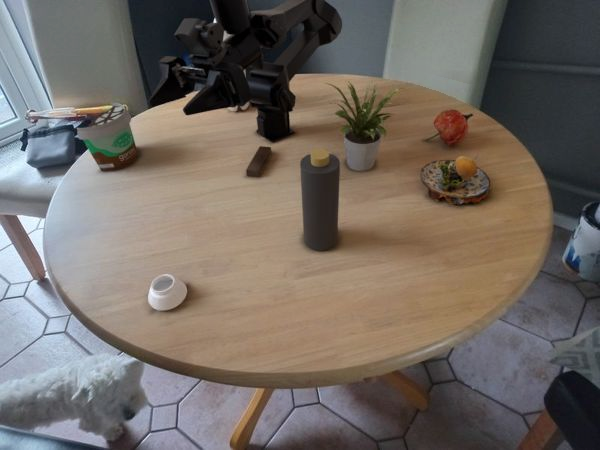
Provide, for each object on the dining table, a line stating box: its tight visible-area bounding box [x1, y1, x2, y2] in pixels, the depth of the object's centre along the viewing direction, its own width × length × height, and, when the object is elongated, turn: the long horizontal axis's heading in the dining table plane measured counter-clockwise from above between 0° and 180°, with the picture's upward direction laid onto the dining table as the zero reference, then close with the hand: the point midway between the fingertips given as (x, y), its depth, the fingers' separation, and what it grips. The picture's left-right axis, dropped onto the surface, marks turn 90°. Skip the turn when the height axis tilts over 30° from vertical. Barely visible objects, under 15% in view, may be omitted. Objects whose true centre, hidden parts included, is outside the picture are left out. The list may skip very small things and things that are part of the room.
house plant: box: [324, 79, 403, 172], centre depth 68 cm, size 14×14×16 cm
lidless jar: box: [147, 273, 188, 311], centre depth 49 cm, size 5×3×5 cm
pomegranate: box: [425, 108, 474, 147], centre depth 76 cm, size 7×7×10 cm
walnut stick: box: [245, 145, 272, 178], centre depth 74 cm, size 9×2×2 cm, turn 167°
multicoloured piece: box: [420, 155, 491, 206], centre depth 64 cm, size 12×12×8 cm
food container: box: [76, 102, 139, 172], centre depth 75 cm, size 12×6×10 cm, turn 168°
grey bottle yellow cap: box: [299, 149, 341, 252], centre depth 53 cm, size 5×5×15 cm
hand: (166, 108), depth 58 cm, fingers open, 9 cm apart
